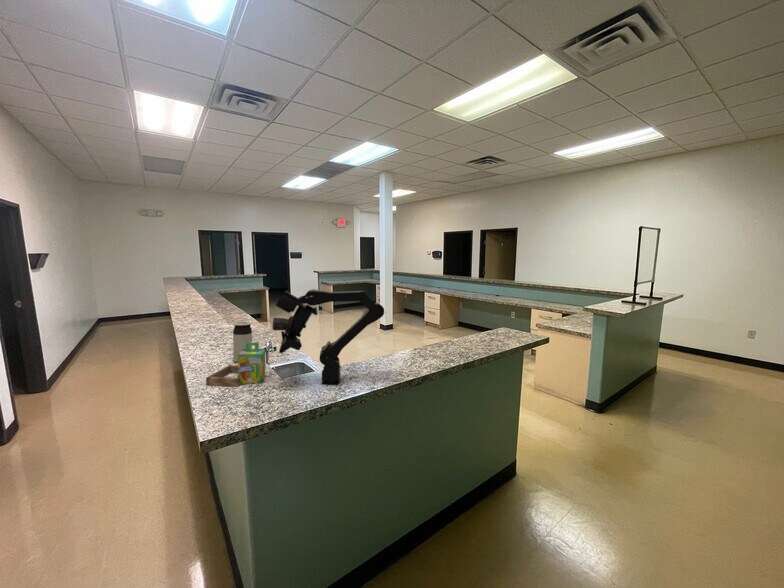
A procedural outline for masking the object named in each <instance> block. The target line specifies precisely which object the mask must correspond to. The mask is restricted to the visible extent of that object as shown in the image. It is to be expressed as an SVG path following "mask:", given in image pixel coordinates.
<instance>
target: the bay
mask: <svg viewBox="0 0 784 588" xmlns="http://www.w3.org/2000/svg"><path fill="white" fill-rule="evenodd" d="M229 373H230V374H238V364H237V365H236V364H229V365H227V366H225V367H223V368H221V369H220V370H218V371H216V372H214V373H212V374H210V375H208V376H206V378H205V382H206V384H205V386H207V387H208V386H210V387H229V388H231V387H232V388H239V387H240V385H241V384H240V378H238V377H227V376H228V375H230V374H229Z"/></svg>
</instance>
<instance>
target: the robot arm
mask: <svg viewBox="0 0 784 588" xmlns="http://www.w3.org/2000/svg"><path fill="white" fill-rule="evenodd" d="M332 302H333V303H334V302H335V303H336V302H360V303H361V304H362V305H364V307H365V308H366V309H365V311H364V312H363V313H362V315H361V317H359V319H358V320H357V321H356V322H354V323H353V324H352V325H351V326H350V327H349V328H348V329H347V330H346V331H345V332H344V333H342V335H340V337H338V338H337V339H336V340H334V341H333V342H331V341H330V340H328V341H326V342H327V343H325V345H323V346H322V347H321V350H320V352H319V362H320V363H321V364H322V365H324V366H323V368H322V370H321V381H322V382H321V384H322V385H334V386H335V385H339V384H340V382H341V380H342V378H341V372H342V371H341V370H342V369H341V367H342V366H341V363H340V361H341V360H340V358H339V357H338V356H339V354H340V353H341V352H342V350H343V349H344V348H345V347H346V346H347V345H349V343H351V341H353V340H354V339H355V338H356V337H358V335H359V334H360V333H361V332H362V331H363V330H365V328H366V327H368V326H369V325H371V324H373V323H375V322H377V320H380V319H381V318H383V316H384V315H385V308H384V306H383V305H382V304H380V303H379V302H375V301H373V300H372V298H370V297H369V296H368V295H367V294H366V292H365V291H364V290H353V291H351V290H350V291H326V290H320V289H309V290H308V291H307V292H306V293H305V294H304V295H302V296H300V295H299V297H297V296H295V295H293V294H291V293H290V292H289V291H287V290H285V291H284V292H283V294H282V295H281V296H280V298H278V301H277V302H276V304H275V307H277V308H278V309H281V310H282V311H284V312H286V313H288V314H290V313H294V314H293V315H291V316H289V317H288V318H285V317H274V318H273V319H272V324H271V325H272V330H273V331H281V332H280V333H281V343H280V346H279V349H278V353H280V354H283V353H284V352H286V351H287V350H289V349H294V350H296V351H300V350H301V348H302V345H303V344H302V342H301V339H300V338H301V336H302V331H303V330H304V329H306V327H307V323H308V322H309V319H310V317H311V316H312V314H313V315H314V316H317V315H318V313H319V312H318V307H317V305H318V306H319V305H323V304H326V303H327V304H328V303H332ZM305 304H306V305H305ZM313 306H315V307H313Z"/></svg>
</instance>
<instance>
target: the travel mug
mask: <svg viewBox="0 0 784 588" xmlns="http://www.w3.org/2000/svg"><path fill="white" fill-rule="evenodd" d="M233 325H234V328H233V330H232V336H233V338H232V344H233V349H232V350H233V351H232V352H233V356H232V357H233V362H235V363H238V355H239V353H240V352H241V350H243V349H246V343H253V329H252V327H251V326H252V322H251V321H238V322H233ZM249 348H250V349H253V345H252V346H250V347H249Z"/></svg>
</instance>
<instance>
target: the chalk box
mask: <svg viewBox="0 0 784 588" xmlns="http://www.w3.org/2000/svg"><path fill="white" fill-rule="evenodd" d="M250 346H252V347H254V348H252V349H250V348H249V347H250ZM259 346H260V344H259V342H252V343H246V349H243V350H241V352H240V353H239V355H238V362H237V365H238V373H237V378H240V385H247V384H248V385H249V384H250V383H252V384H259V383H258V382H264V380H263V379H265V377H266V349H265V348H260V347H259ZM264 376H265V377H264Z"/></svg>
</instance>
